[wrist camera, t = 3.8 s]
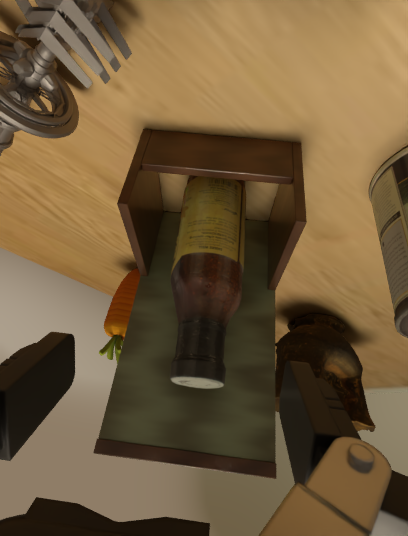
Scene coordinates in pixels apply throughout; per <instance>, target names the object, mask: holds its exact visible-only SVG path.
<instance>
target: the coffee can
mask: <svg viewBox="0 0 408 536" xmlns="http://www.w3.org/2000/svg"><path fill="white" fill-rule="evenodd" d="M369 198H370V201H371V203H372V207H373V212H374V216H375V221H376V226H377V231H378V235H379V240H380V245H381V250H382V255H383V259H384V264H385V269H386V274H387V279H388V284H389V289H390V293H391V298H392V303H393V308H394V313H395V317H394V320H395V327H396V329H397V331H398V332H399V333H400V334H401V335H403V336H405V337H407V338H408V147H407V148H405V149H403V150H402V151H400V152H398V153H397V154H396V155H394V156H393V157H392V158H390V159H389V160H388V161H387V162H386V163H384V165H383V166H382V167H381V168H380V169H379V170H378V172H377V173H376V174H375V176H374V178H373V180H372V182H371V185H370V188H369Z"/></svg>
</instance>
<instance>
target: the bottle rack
mask: <svg viewBox="0 0 408 536" xmlns="http://www.w3.org/2000/svg"><path fill="white" fill-rule="evenodd" d="M158 172H161V173H171V174H182V175H193V176H203V177H214V178H225V179H235V180H246V181H257V182H267V183H278V184H279V188H278V191H277V195H276V198H275V201H274V205H273V208H272V211H271V215H270V218H269V221H268V222H264V221H254V220H245V244H244V272H243V275H242V296H241V300H240V305H239V307H238V309H237V310H236V312H235V313H234V315H233V316H232V317H231V318H230V320H229V323H228V325H227V327H226V336H225V344H224V345H225V346H224V364H225V368H226V376H225V384H224V386H222V387H219V388H211V389H205V388H195V387H188V386H183V385H179V384H175V383H174V382H172V380H171V379H170V370H171V363H172V361H173V359H174V358H175V353H176V344H177V337H178V319H177V314H176V308H175V303H174V298H173V293H172V288H171V282H170V279H171V272H172V265H173V259H174V253H175V247H176V240H177V235H178V228H179V222H180V216H181V213H174V212H164V210H163V203H162V196H161V189H160V182H159V175H158ZM117 204H118V207H119V210H120V214H121V217H122V220H123V223H124V226H125V229H126V232H127V235H128V238H129V241H130V244H131V248H132V251H133V254H134V257H135V260H136V263H137V266H138V269H139V272H140V275H141V276H140V280H139V283H138V287H137V291H136V295H135V299H134V303H133V307H132V310H131V314H130V318H129V322H128V326H127V330H126V334H125V337H124V341H123V345H122V349H121V353H120V357H119V361H118V365H117V368H116V372H115V376H114V380H113V384H112V388H111V392H110V396H109V400H108V403H107V407H106V411H105V415H104V419H103V423H102V426H101V430H100V434H99V439H97V441H96V445H95V449H94V453H96V454H102V455H109V456H116V457H123V458H130V459H138V460H145V461H152V462H159V463H166V464H174V465H180V466H188V467H195V468H202V469H209V470H216V471H223V472H230V473H237V474H244V475H252V476H259V477H266V478H273V479H276V463H275V290H276V287H277V285H278V283H279V281H280V279H281V277H282V274H283V272H284V270H285V268H286V266H287V263H288V261H289V259H290V257H291V255H292V253H293V250H294V248H295V246H296V244H297V242H298V240H299V237H300V235H301V233H302V231H303V229H304V227H305V224H306V207H305V193H304V179H303V164H302V150H301V143H297V142H284V141H272V140H261V139H249V138H238V137H226V136H215V135H203V134H192V133H180V132H169V131H157V130H148V129H143V132H142V135H141V138H140V140H139V143H138V146H137V149H136V152H135V155H134V157H133V160H132V163H131V166H130V169H129V172H128V174H127V177H126V180H125V183H124V186H123V189H122V191H121V194H120V197H119V200H118V203H117Z"/></svg>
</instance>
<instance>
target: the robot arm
mask: <svg viewBox="0 0 408 536" xmlns="http://www.w3.org/2000/svg"><path fill="white" fill-rule="evenodd" d="M74 375H75V340H74V336H73V335H72V334H66V333H59V332H50V333H49V334H48V335H46V336H45V337H44V338H42V339H41V340H40V341H39V342H37V343H33V344H31V345H29V346H26V347H24V348H22V349H20V350H18V351H17V352H16V353H14V354H13V355H12V356H10V358H9V359H6V360H5V361H4V362H2V363H1V365H0V459H1V460H8V461H10V460H11V459H12V458H13V457H14V455H15V454H16V453H17V452H18V451H19V449H20V448H21V447H22V446H23V445H24V443H25V442H26V441H27V440H28V438H29V437H30V436H31V435H32V434H33V432H34V431H35V430H36V429H37V427H38V426H39V425H40V424H41V422H42V421H43V420H44V419H45V418H46V416H47V415H48V414H49V413H50V411H51V410H52V409H53V408H54V407H55V405H56V404H57V403H58V402H59V400H60V399H61V398H62V397H63V395H64V394H65V393H66V392H67V391H68V389H69V388H70V386H71V385H72V382H73V379H74ZM279 413H280V419H281V424H282V428H283V432H284V436H285V441H286V445H287V450H288V454H289V459H290V462H291V468H292V472H293V476H294V481H295V485H294V486H293V487H292V488H291V490H290V491H289V493H288V494H287V496H286V497H285V498H284V500H283V501H282V503H281V504H280V506H279V507H278V508H277V510H276V511H275V513H274V514H273V516H272V517H271V519H270V520H269V521H268V523H267V524H266V526H265V527H264V528H263V530H262V531H261V533H260V534H259V536H408V477H407V476H405V475H402V474H400V473H397V472H395V471H393V470H392V469H391V466H390V464H389V462H388V460H387V459H386V458H385V456H384V455H383V454H382V453H381V452H380V451H378V450H377V449H376V448H375V447H373V446H372V445H370V444H369V443H367V442H365V441H362V440H361V438H360V436H359V434H358V433H357V430H356V429H355V427H354V425H353V423H352V421H351V419H350V417H349V415H348V414H347V412H346V410H345V408H344V406H343V404H342V402H341V401H340V399H339V397H338V395H337V393H336V391H335V389H334V388H333V387H332V386H331V385H329V384H328V383H327V382H326V381H325V380H324V379H320V378H316V377H315V375H314V373H313V371H312V369H311V367H310V365H309V363H304V362H296V361H287V362H286V364H285V369H284V375H283V381H282V387H281V393H280V399H279ZM209 527H210V523H203V522H197V521H190V520H183V519H177V518H169V517H161V518H153V519H144V520H136V521H127V522H116V521H113V520H111V519H109V518H107V517H104V516H102V515H100V514H98V513H96V512H94V511H92V510H90V509H88V508H86V507H84V506H82V505H80V504H77V503H71V502H64V501H57V500H51V499H44V498H38V497H36V499H35V500H34V502H33V503H32V505H31V506H30V508H29V510H28V511H27V513H26V514H23V515H17V516H13V517H9V518H6V519H3V520H0V536H209V529H210V528H209Z"/></svg>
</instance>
